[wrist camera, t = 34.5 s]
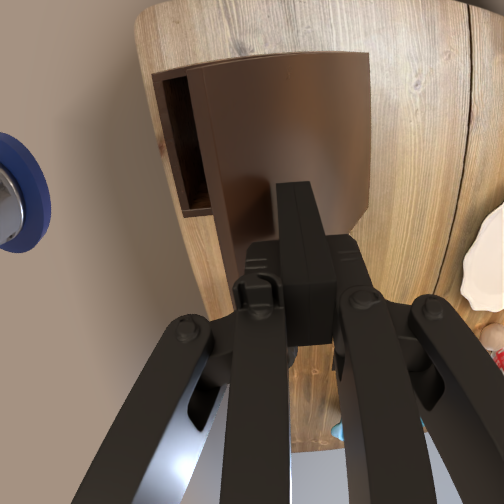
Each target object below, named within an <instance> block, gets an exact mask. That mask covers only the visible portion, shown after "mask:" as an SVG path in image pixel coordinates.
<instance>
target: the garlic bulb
mask: <svg viewBox="0 0 504 504" xmlns="http://www.w3.org/2000/svg"><path fill="white" fill-rule="evenodd" d="M480 342H481V344H482V345H483V346H484V348H485V349H487V350H491V351H497V350H499V349H501V348H503V349H504V326H503V325H501V324H499V323H492V324H490V325H488V326H486V327H484V328H483V330H482V331H481V335H480Z"/></svg>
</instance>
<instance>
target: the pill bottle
mask: <svg viewBox="0 0 504 504" xmlns="http://www.w3.org/2000/svg"><path fill="white" fill-rule="evenodd" d="M491 357H492V359H493V360H494V361H495V363H496V364H497V366H498V367H499V369H500V370H501V371H502V373H503V374H504V349H503V348H501V349H499V350H497V351H492V353H491Z"/></svg>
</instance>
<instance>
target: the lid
mask: <svg viewBox="0 0 504 504" xmlns="http://www.w3.org/2000/svg"><path fill="white" fill-rule="evenodd" d="M186 73H187V79H188V85H189V91H190V96H191V102H192V108H193V113H194V119H195V124H196V130H197V135H198V140H199V146H200V151H201V156H202V161H203V166H204V172H205V177H206V182H207V187H208V192H209V197H210V202H211V207H212V211H213V216H214V221H215V226H216V231H217V236H218V240H219V245H220V250H221V254H222V259H223V264H224V268H225V273H226V277H227V282H228V286H229V291H230V295H231V300H232V304H233V309H234V311H235V310H236V305H235V300H234V296H233V291H232V287H233V285H234V282H235V281H236V280H237V279H238V278H239V277H241V276H243V275H244V270H245V262H246V261H245V259H246V250H247V249H248V247H249V246H250V245H251V243H252V242H257V241H269V240H279V227H278V210H277V195H276V183H286V182H299V181H310V183H311V187H312V190H313V193H314V197H315V200H316V204H317V207H318V210H319V214H320V217H321V221H322V225H323V228H324V232H325V235H337V234H349V232H350V231H351V230H352V228H353V227H354V226H355V224H356V223H357V222H358V220H359V219H360V218H361V216H362V215H363V214H364V212H365V211H366V210H367V208H368V205H369V188H370V164H371V87H370V64H369V53H364V52H328V53H305V54H290V55H278V56H268V57H259V58H251V59H244V60H237V61H230V62H224V63H218V64H213V65H207V66H202V67H197V68H192V69H187V70H186Z"/></svg>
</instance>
